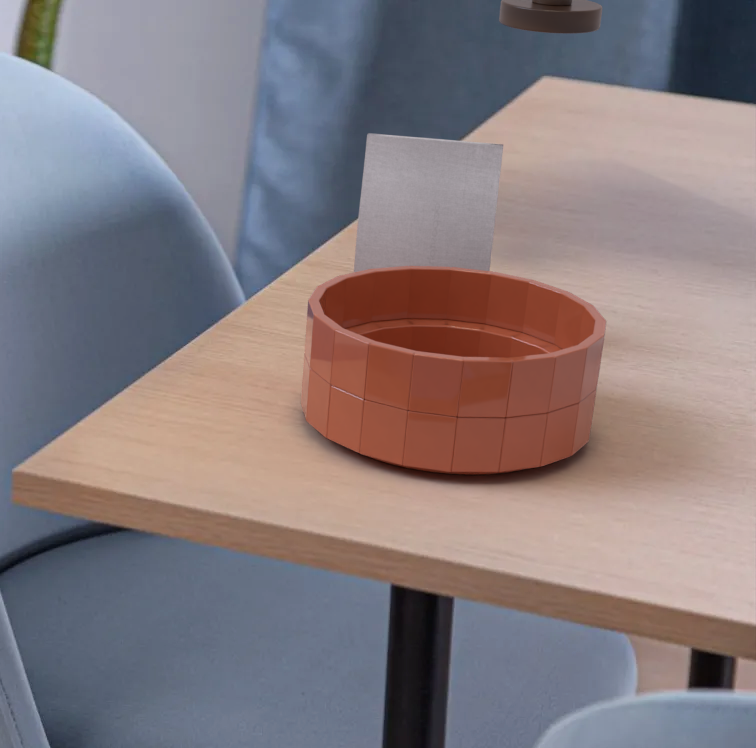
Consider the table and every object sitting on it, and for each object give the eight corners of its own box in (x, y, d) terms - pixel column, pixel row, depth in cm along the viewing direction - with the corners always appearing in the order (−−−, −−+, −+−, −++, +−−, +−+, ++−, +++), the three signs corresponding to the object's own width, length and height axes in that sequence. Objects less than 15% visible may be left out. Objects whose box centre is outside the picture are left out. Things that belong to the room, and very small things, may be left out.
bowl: (494, 363, 88) (507, 257, 86) (646, 464, 77) (665, 345, 75) (256, 389, 83) (263, 277, 81) (382, 499, 72) (394, 373, 70)
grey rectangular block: (480, 348, 90) (502, 154, 86) (348, 336, 91) (364, 142, 86) (481, 325, 93) (503, 137, 89) (354, 313, 94) (370, 126, 90)
